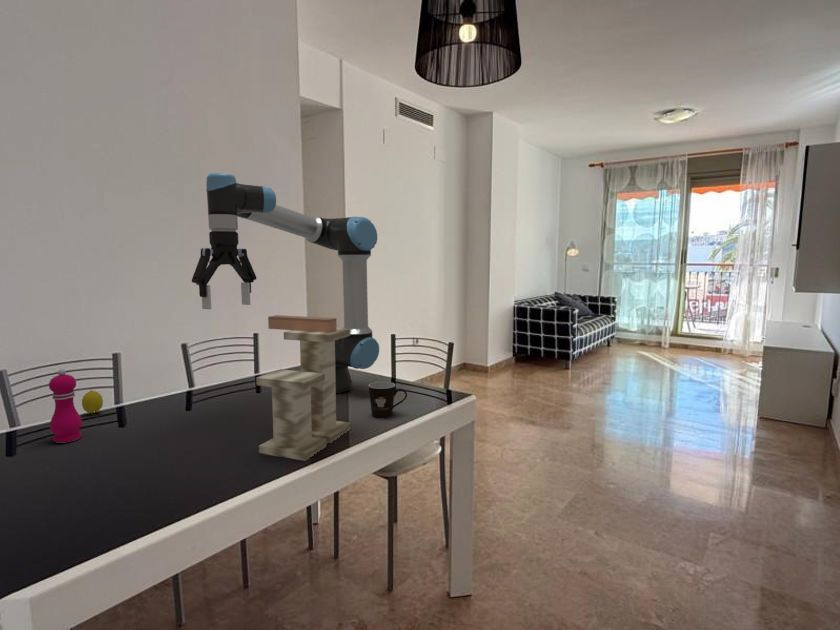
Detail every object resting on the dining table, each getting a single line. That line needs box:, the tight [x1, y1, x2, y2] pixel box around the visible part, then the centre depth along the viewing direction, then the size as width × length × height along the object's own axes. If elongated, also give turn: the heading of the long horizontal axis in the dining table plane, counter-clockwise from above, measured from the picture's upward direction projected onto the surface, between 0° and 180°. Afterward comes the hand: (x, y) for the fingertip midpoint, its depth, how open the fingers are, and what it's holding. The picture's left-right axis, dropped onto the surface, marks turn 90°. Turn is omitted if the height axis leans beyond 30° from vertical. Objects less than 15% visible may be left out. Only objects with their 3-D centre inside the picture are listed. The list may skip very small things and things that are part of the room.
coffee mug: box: [368, 381, 408, 419], centre depth 154 cm, size 12×9×10 cm
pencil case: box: [267, 314, 338, 332], centre depth 137 cm, size 20×4×4 cm, turn 70°
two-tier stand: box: [255, 327, 352, 462], centre depth 132 cm, size 14×24×30 cm, turn 160°
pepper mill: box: [48, 368, 83, 443], centre depth 132 cm, size 7×7×20 cm
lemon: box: [81, 389, 104, 414], centre depth 155 cm, size 6×6×8 cm
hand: (227, 306), depth 137 cm, fingers open, 13 cm apart
